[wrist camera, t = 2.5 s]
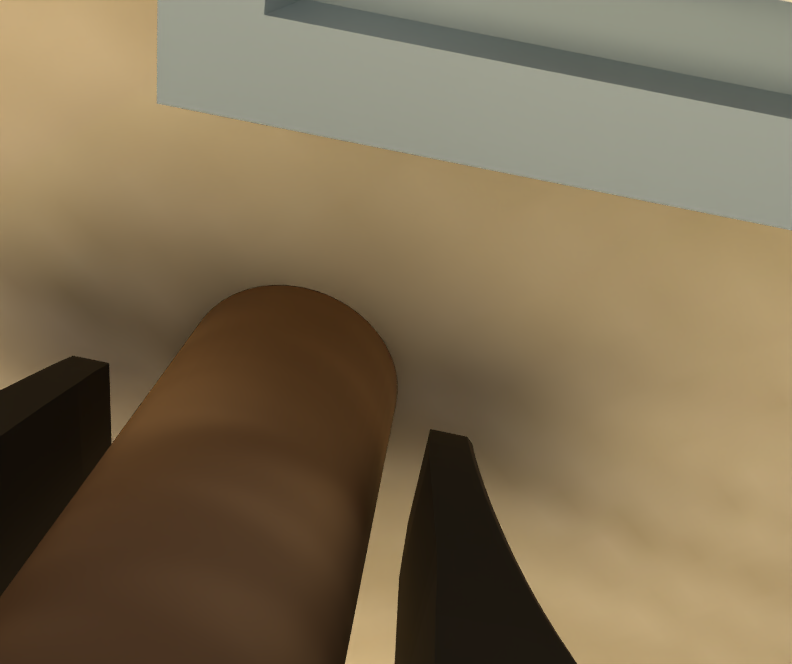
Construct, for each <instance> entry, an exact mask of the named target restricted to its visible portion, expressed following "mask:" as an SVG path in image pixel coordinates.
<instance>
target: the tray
mask: <svg viewBox="0 0 792 664" xmlns="http://www.w3.org/2000/svg"><path fill="white" fill-rule="evenodd" d="M157 104H162V105H167V106H172V107H177V108H182V109H187V110H192V111H197V112H202V113H207V114H212V115H217V116H222V117H227V118H232V119H237V120H242V121H247V122H252V123H257V124H262V125H267V126H272V127H277V128H282V129H287V130H292V131H297V132H302V133H307V134H312V135H317V136H322V137H327V138H332V139H337V140H342V141H347V142H352V143H357V144H362V145H367V146H372V147H377V148H382V149H387V150H392V151H397V152H402V153H407V154H412V155H417V156H422V157H427V158H432V159H437V160H442V161H447V162H452V163H457V164H462V165H467V166H472V167H477V168H482V169H487V170H492V171H497V172H502V173H507V174H512V175H517V176H522V177H527V178H532V179H537V180H542V181H547V182H552V183H557V184H562V185H567V186H572V187H577V188H582V189H587V190H592V191H597V192H602V193H607V194H612V195H617V196H622V197H627V198H632V199H637V200H642V201H647V202H652V203H657V204H662V205H667V206H672V207H677V208H682V209H687V210H692V211H697V212H702V213H707V214H712V215H717V216H722V217H727V218H732V219H737V220H742V221H747V222H752V223H757V224H762V225H767V226H772V227H777V228H782V229H787V230H792V2H787V1H781V0H158V13H157Z"/></svg>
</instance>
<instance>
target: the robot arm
mask: <svg viewBox="0 0 792 664" xmlns="http://www.w3.org/2000/svg"><path fill="white" fill-rule="evenodd" d="M110 446H111V412H110V379H109V363H105V362H100V361H96V360H91V359H86V358H81V357H76V356H72V357H69V358H67V359H64V360H62V361H60V362H58V363H55V364H53V365H51V366H49V367H47V368H45V369H43V370H41V371H39V372H37V373H35V374H33V375H31V376H29V377H26V378H24V379H22V380H20V381H18V382H16V383H14V384H12V385H10V386H8V387H6V388H4V389H2V390H0V596H1V595H2V594H3V592H4V591H5V590H6V588H7V587H8V586H9V584H10V583H11V581H12V580H13V579H14V577H15V576H16V575H17V573H18V572H19V570H20V569H21V568H22V566H23V565H24V564H25V562H26V561H27V559H28V558H29V557H30V555H31V554H32V553H33V551H34V550H35V548H36V547H37V546H38V544H39V543H40V542H41V540H42V539H43V538H44V536H45V535H46V533H47V532H48V531H49V529H50V528H51V527H52V525H53V524H54V522H55V521H56V520H57V518H58V517H59V516H60V514H61V513H62V511H63V510H64V509H65V507H66V506H67V505H68V503H69V502H70V500H71V499H72V498H73V496H74V495H75V494H76V492H77V491H78V490H79V488H80V487H81V485H82V484H83V483H84V481H85V480H86V479H87V477H88V476H89V474H90V473H91V472H92V470H93V469H94V468H95V466H96V465H97V463H98V462H99V461H100V459H101V458H102V457H103V455H104V454H105V452H106V451H107V450H108V448H109V447H110ZM395 664H577V663H576V662H575V660H574V658H573V657H572V655H571V654H570V652H569V651H568V649H567V648H566V646H565V645H564V643H563V642H562V640H561V639H560V637H559V636H558V634H557V633H556V631H555V629H554V628H553V626H552V625H551V623H550V621H549V620H548V618H547V616H546V615H545V613H544V611H543V610H542V608H541V606H540V605H539V603H538V601H537V599H536V598H535V596H534V594H533V592H532V590H531V588H530V587H529V585H528V583H527V581H526V579H525V577H524V575H523V573H522V571H521V569H520V567H519V565H518V563H517V561H516V559H515V557H514V555H513V553H512V551H511V549H510V547H509V545H508V542H507V540H506V538H505V536H504V533H503V531H502V529H501V526H500V524H499V522H498V519H497V517H496V515H495V512H494V510H493V507H492V505H491V502H490V500H489V497H488V494H487V491H486V489H485V486H484V483H483V480H482V477H481V474H480V471H479V468H478V465H477V461H476V458H475V454H474V450H473V445H472V443H471V442H470V440H469V439H468V437H465V436H460V435H456V434H451V433H446V432H441V431H436V430H431V429H430V433H429V437H428V441H427V445H426V450H425V454H424V458H423V462H422V466H421V470H420V475H419V479H418V483H417V487H416V491H415V495H414V500H413V504H412V508H411V512H410V516H409V520H408V526H407V532H406V538H405V544H404V551H403V557H402V563H401V570H400V576H399V591H398V610H397V630H396V650H395Z"/></svg>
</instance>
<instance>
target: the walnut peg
mask: <svg viewBox="0 0 792 664" xmlns="http://www.w3.org/2000/svg"><path fill="white" fill-rule="evenodd" d="M396 399H397V377H396V371H395V367H394V364H393V361H392V358H391V355H390V353H389V351H388V349H387V347H386V345H385V343H384V342H383V340H382V339H381V338H380V336H379V335H378V333H377V332H376V331H375V330H374V329H373V327H372V326H371V325H370V324H369V323H368V322H367V321H366V320H365V319H364V318H363V317H361V316H360V315H359V314H358V313H357V312H355V311H354V310H353V309H351V308H350V307H348V306H347V305H345V304H344V303H342V302H340V301H338V300H336V299H334V298H332V297H330V296H328V295H325V294H322V293H320V292H317V291H314V290H310V289H306V288H302V287H295V286H284V285H271V286H261V287H256V288H252V289H247V290H244V291H242V292H239V293H236V294H234V295H232V296H230V297H228V298H227V299H225V300H223V301H221V302H220V303H219V304H218V305H216V306H215V307H214V308H212V309H211V310H210V312H209V313H208V314H207V315H206V316H205V317H204V318H203V319H202V321H201V322H200V324H199V325H198V326H197V328H196V329H195V330H194V332H193V333H192V335H191V336H190V337H189V339H188V340H187V341H186V343H185V344H184V345H183V347H182V348H181V350H180V351H179V352H178V354H177V355H176V356H175V358H174V359H173V361H172V362H171V363H170V365H169V366H168V367H167V369H166V370H165V372H164V373H163V374H162V376H161V377H160V378H159V380H158V381H157V383H156V384H155V385H154V387H153V388H152V389H151V391H150V392H149V393H148V395H147V396H146V398H145V399H144V400H143V402H142V403H141V404H140V406H139V407H138V409H137V410H136V411H135V413H134V414H133V415H132V417H131V418H130V420H129V421H128V422H127V424H126V425H125V426H124V428H123V429H122V431H121V432H120V433H119V435H118V436H117V437H116V439H115V440H114V441H113V443H112V444H111V446H110V447H109V448H108V450H107V451H106V452H105V454H104V455H103V457H102V458H101V459H100V461H99V462H98V463H97V465H96V466H95V468H94V469H93V470H92V472H91V473H90V474H89V476H88V477H87V479H86V480H85V481H84V483H83V484H82V485H81V487H80V488H79V490H78V491H77V492H76V494H75V495H74V496H73V498H72V499H71V500H70V502H69V503H68V505H67V506H66V507H65V509H64V510H63V511H62V513H61V514H60V516H59V517H58V518H57V520H56V521H55V522H54V524H53V525H52V527H51V528H50V529H49V531H48V532H47V533H46V535H45V536H44V538H43V539H42V540H41V542H40V543H39V544H38V546H37V547H36V548H35V550H34V551H33V553H32V554H31V555H30V557H29V558H28V559H27V561H26V562H25V564H24V565H23V566H22V568H21V569H20V570H19V572H18V573H17V575H16V576H15V577H14V579H13V580H12V581H11V583H10V584H9V586H8V587H7V588H6V590H5V591H4V592H3V594H2V595H1V596H0V664H345V660H346V655H347V650H348V645H349V640H350V634H351V629H352V624H353V619H354V614H355V609H356V604H357V599H358V594H359V589H360V584H361V578H362V573H363V568H364V563H365V558H366V553H367V548H368V543H369V538H370V533H371V528H372V522H373V517H374V512H375V507H376V502H377V497H378V492H379V487H380V482H381V477H382V472H383V467H384V461H385V456H386V451H387V446H388V441H389V436H390V431H391V426H392V421H393V416H394V411H395V405H396Z"/></svg>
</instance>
